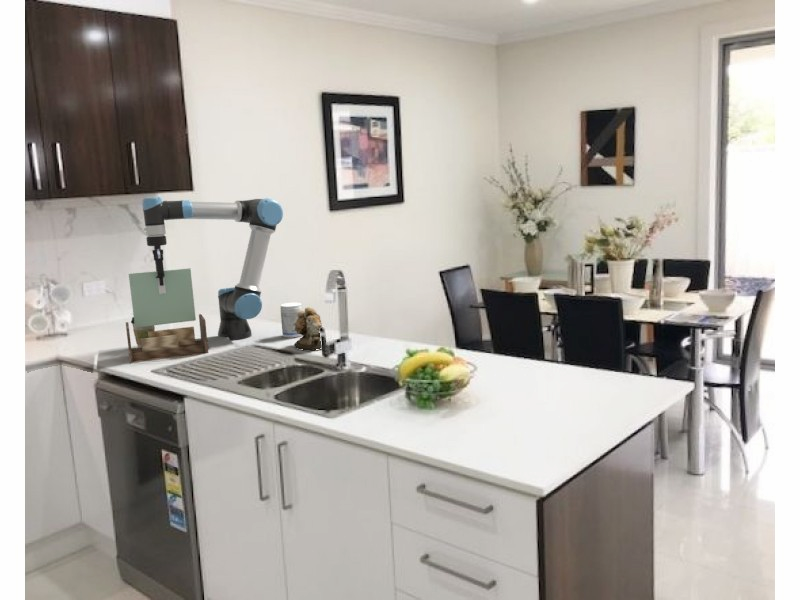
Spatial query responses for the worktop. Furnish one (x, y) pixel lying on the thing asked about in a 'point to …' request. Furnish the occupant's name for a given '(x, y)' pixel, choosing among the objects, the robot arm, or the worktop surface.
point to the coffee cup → (141, 332)
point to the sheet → (162, 298)
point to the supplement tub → (290, 319)
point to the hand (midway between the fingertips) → (162, 292)
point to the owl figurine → (308, 329)
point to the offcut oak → (183, 334)
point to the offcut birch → (159, 343)
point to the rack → (180, 351)
